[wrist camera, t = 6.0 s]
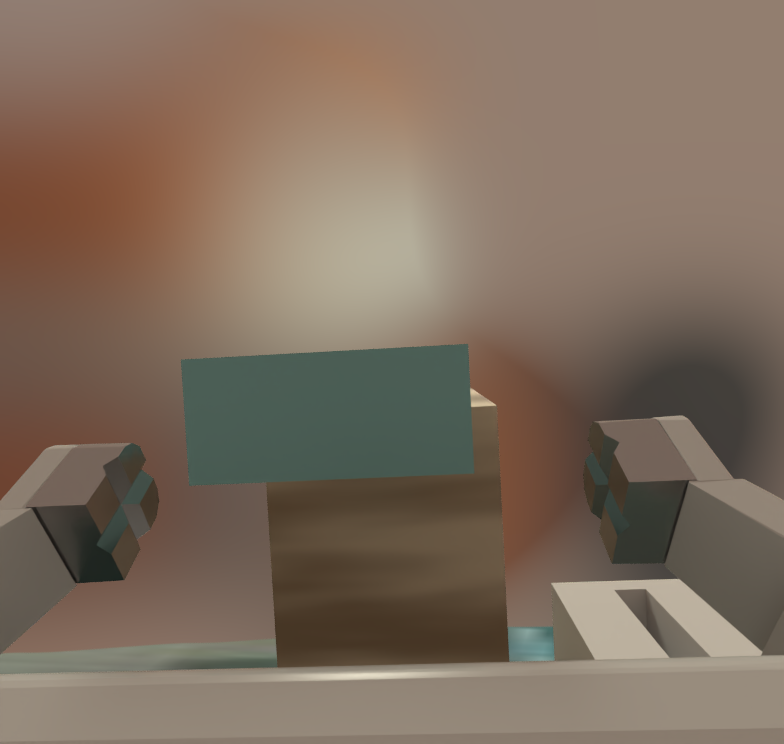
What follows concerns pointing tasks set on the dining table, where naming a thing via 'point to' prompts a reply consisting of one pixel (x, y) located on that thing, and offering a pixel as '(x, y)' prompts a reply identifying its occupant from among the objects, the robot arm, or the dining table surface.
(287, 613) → the birch stand
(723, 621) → the grey slot box
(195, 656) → the dining table surface
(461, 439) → the teal board
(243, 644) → the dining table surface
